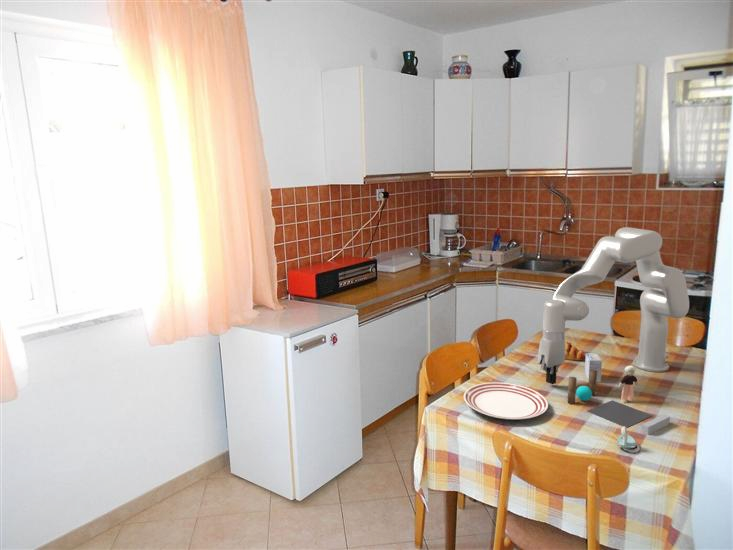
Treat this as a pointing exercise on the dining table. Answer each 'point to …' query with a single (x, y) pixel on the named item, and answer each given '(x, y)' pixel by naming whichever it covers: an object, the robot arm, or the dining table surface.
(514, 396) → the dinner plate
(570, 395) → the post far
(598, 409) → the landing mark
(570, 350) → the croissant
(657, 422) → the wall
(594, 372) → the post near arm
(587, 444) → the dining table surface
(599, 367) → the medicine box
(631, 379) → the grandmother figurine
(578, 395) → the ball
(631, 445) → the pacifier
